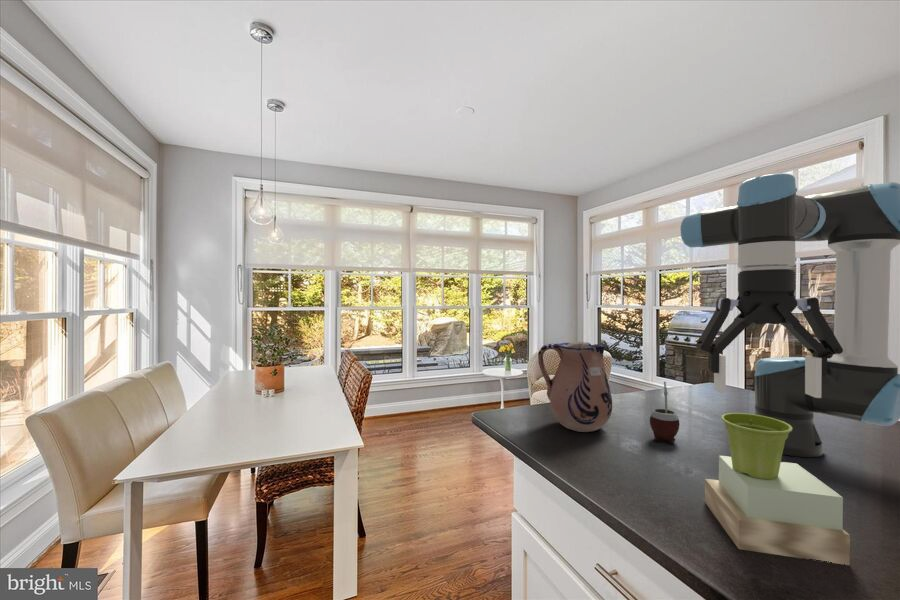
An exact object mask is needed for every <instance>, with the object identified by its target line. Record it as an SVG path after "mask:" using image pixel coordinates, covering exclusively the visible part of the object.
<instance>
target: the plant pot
mask: <svg viewBox="0 0 900 600" xmlns="http://www.w3.org/2000/svg"><path fill="white" fill-rule="evenodd" d="M721 421H723V422H724V426H725V430H726V432H727V437H728V438H727V439H728V445H729V450H730V451H729V452H730V457H731V459H732V466H733V468H734V469H735V470H737V471H738V472H740V473H746V474H748V475H750V476H751V477H754V478H758V479H774V478H775V477H778V474H779V468H780V463H781V462H782V458H783V454H782V453H783V449H784V444H785V440H786V439H787V438H788V434H789V433H790V432H791V431H792V427H791V425H789V424H787V423H786V422H783V421H780V420H777V419H774V418H770V417H766V416H761V415H755V414H754V413H746V412H743V413H742V412H730V413H724V414H722V415H721Z"/></svg>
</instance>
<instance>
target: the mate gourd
mask: <svg viewBox="0 0 900 600" xmlns="http://www.w3.org/2000/svg"><path fill="white" fill-rule="evenodd" d="M667 389H668V388H667V382H666V381H663V390H664V391H663V395H664V408H655V409H654V410H652V411H651V413H650V417H649V424H650V427H651V430H652V432H653V436H654V439H653V442H655V443H661V442H663V443H666V444H668V445H670V446H674V445H675V442H674V441H675V440H676V438H675V437H676V436H677V434H678V432H679V429H680V419H679V416H678V414H677V412H675V411H673V410H670V409H668V390H667Z"/></svg>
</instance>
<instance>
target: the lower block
mask: <svg viewBox="0 0 900 600" xmlns="http://www.w3.org/2000/svg"><path fill="white" fill-rule="evenodd" d="M704 503H705V504H706V506H707V507H708V509H709V510H710V512H711V513H712V515H714V517H715V518H716V520H717V521H718V523H719V524H720V525H721V527H722V528H723V529H724V530H725V532H726V533H727V535H728V536H729V538H730V539H731V540H732V541H733V543H734V544H735V546H736V547H737V549H738V550H741V551H742V550H743V551H749V552H755V553H756V552H757V553H762V554H763V553H764V554H769V555H778V556H784V557H791V558H795V559H803V558H804V559H803V560H809V559H816V560H822V561H821V562H823V561H827V562H826V563H830V562H832V563H831V564H839V565H844V564H845V565H844V566H850V561H851V556H850V555H851V554H850V553H851V551H850V550H851V549H850V548H851V535H850V534H849V533H848V532H847V531H846V530H845V529H843V528H842V530H835V529H828V528H821V527H814V526H806V525H799V524H792V523H785V522H778V521H771V520H764V519H757V518H749V517H747V516H746V515H745V513H744V512H743V511H742V510H741V509H740V507H739V506H738V505H737V504H736V502H735V501H734V500H733V499H732V498H731V496H730V495H729V494H728V493H727V491H726V490H725V489H724V488H723V486H722V485H721V484H720V483H719V479H708V478H704ZM805 558H806V559H805ZM816 560H815V561H816ZM828 561H829V562H828Z"/></svg>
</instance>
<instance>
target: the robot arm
mask: <svg viewBox="0 0 900 600" xmlns="http://www.w3.org/2000/svg"><path fill="white" fill-rule="evenodd" d="M796 186H797V185H796V178H795V176H794V175H792V174H789V173H771V174H764V175H760V176H756V177H753V178H748V179H747V180H744V181H742V183H741V184H740V185H739V188H738V197H737V202H736V205H734V206H729V207H728V206H727V207H723V208H722V207H721V208H716V209H711V210H710V209H709V210H705V211H702V210H701V211H700V210H699V212H695V213H689V214H688V215H685V216H684V218H682V221H681V223H680V228H679V230H680V238H681V239H682V242H683V244H684V245H685V246H687V247H689V248H706V247H707V248H708V247H713V246H714V247H715V246H723V245H724V246H725V245H731V244H733V245H734V244H737V267H738V268H740V269H742V271H741V270H740V271H739V273H737V294H738V296H737V298H736V299H733V298H728V297H719V298H717V299H716V304H715V311H714V313H713V314H712V316H711V317H710V319H709V321H708V323H707V324H706V325H705V328H704V330H703V331H702V333H701V335H700V336H699V338H698V340H697V342H696V343H695V347H696V349H698V350H701V351H702V352H706V353H707V356H708V357H707V358H708V359H707V364H708V366H707V369H708V371H709V372H710V373H713V390H714V391H716V392H717V393H720V394H723V395H724V394H725V395H726V393H727V389H726V388H727V387H726V385H727V383H726V381H727V380H726V373H727V372H726V371H727V370H726V369H727V365H726V361H727V359H726V358H727V356H726V355H725V354H721V353H722V352H723V351H724V350H726V348H727V347H728V346H729V345H730V344H731V343H732V342H733V341H735V339H736V338H737V337H738V336H739V335H740V334H741V333H742V332H743V331H745V329H746V328H747V327H749V326H751V325H752V324H754V325H755V324H756V325H766V324H770V325H781V326H783V327H784V328H786V330H788V332H789V333H790V334H791V335H793V338H794V337H795V338H796V339H797V340H798V342H799V343H800V344H802V346H803V347H804V348H805V349H806V350H807V351H808V352H809V353H810V354H811V355H805V356H804V357H802V356H801V357H800V356H799V357H798V356H785V357H783V356H781V357H780V356H779V357H764V358H761V359H758V360H757V361H756V363H755V370H754V371H755V372H754V374H753V377H754V413H753V414H755V415H761V416H766V417H770V418H774V419H777V420H780V421H783V422H786V423H787V424H789V425H791V427H792V431H791V432H790V433H789V434H788V438H787V439H786V440H785V444H784V449H783V453H782V455H786V456H791V457H799V458H818V457H821V456H823V454H824V445H823V444H824V443H823V441H822V439H821V437H820V436H821V435H820V434H819V431H818V429H817V426H816V423H815V420H814V414H821V415H825V416H831V417H836V418H842V419H846V420H852V421H857V422H861V423H862V424H873V425H877V426H885V427H888V426H892V425H894V424H896V423H897V422H898V421H900V373H898V371H899V368H898V367H899V366H898V365H897V364H896V363H895V362H894V361H892V360H891V359H890V358H889V355H888V351H889V350H888V349H889V323H890V322H889V319H890V318H889V317H890V316H889V315H890V287H891V283H890V282H891V253H892V252H891V251H892V250H893V249H894V248H896V247H897V246H898V245H900V183H899V182H893V181H892V182H891V181H890V182H884V183H877V184H873V183H871V184H869V183H868V185H862V186H857V187H850V188H845V189H840V190H835V191H829V192H822V193H815V194H811V195H807V196H802V195H798V194H797V192H798V188H797V187H796ZM821 241H822V242H823V241H827V247H828V248H829V249H830V250H832V251H833V252H835V254H836V255H835V285H834V286H835V288H834V289H835V290H834V317H833V318H834V319H833V320H834V323H833V325H834V326H833V330H832V329H831V327H830V325H829V324H828V322H827V320H826V319H825V317H824V315H823V314H822V312H821V310H820V302H819V299H818V298H817V297H815V296H813V297H812V296H809V297H808V296H802V297H801V298H796V297H795V291H796V271H794V269H791V267H794V266H795V265H796V242H821ZM735 307H736V309H738V311H739V314H738V315H737V316H736V317H735V318H734V319H733V321H732V322H731V323H730V324H729V325H728V327H726V328H725V329H724V330H723V331H722V333H720V335H719V336H718V337H717V335H718V333H719V332H720V329H721V328H722V327H723V324H724V322H725V321H726V320H727V317H728V316H729V314H730V312H731V311H733V310H734V308H735ZM796 308H797V309H798V310H799V311H801V313H802V315H803V316H804V318H805V320H806V321H807V324H808V325H809V327H810V329H811V331H812V332H813V334H814V335H815V336H814V335H812V334H811V333H810V331H808V329H806V327H804V325H802V324H801V322H800V320H799V319H798V318H797V317H796V316H795V315H794V314H793V313H792V312H793V311H794V310H795V309H796Z"/></svg>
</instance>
